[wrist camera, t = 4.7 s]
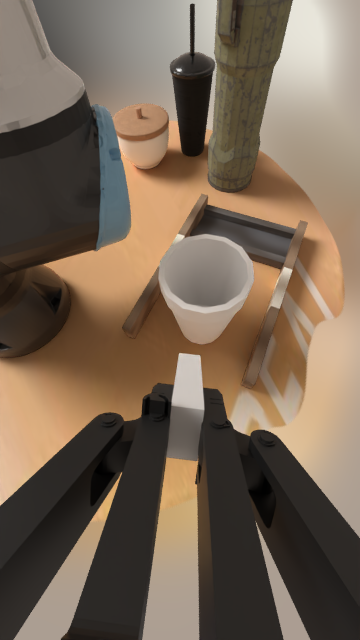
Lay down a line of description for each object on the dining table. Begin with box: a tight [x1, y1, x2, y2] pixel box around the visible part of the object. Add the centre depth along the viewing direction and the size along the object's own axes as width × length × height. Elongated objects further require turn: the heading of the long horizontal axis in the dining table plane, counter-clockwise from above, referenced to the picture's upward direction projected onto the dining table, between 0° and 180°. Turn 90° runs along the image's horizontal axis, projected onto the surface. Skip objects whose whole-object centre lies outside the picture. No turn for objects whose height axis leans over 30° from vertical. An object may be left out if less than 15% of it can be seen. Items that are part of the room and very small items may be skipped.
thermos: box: [208, 0, 293, 192], centre depth 33 cm, size 9×12×35 cm
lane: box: [122, 194, 308, 389], centre depth 37 cm, size 28×18×3 cm, turn 155°
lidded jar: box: [113, 104, 169, 169], centre depth 49 cm, size 11×11×9 cm
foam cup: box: [158, 234, 254, 344], centre depth 30 cm, size 10×9×13 cm
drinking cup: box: [170, 4, 215, 156], centre depth 45 cm, size 8×8×20 cm
